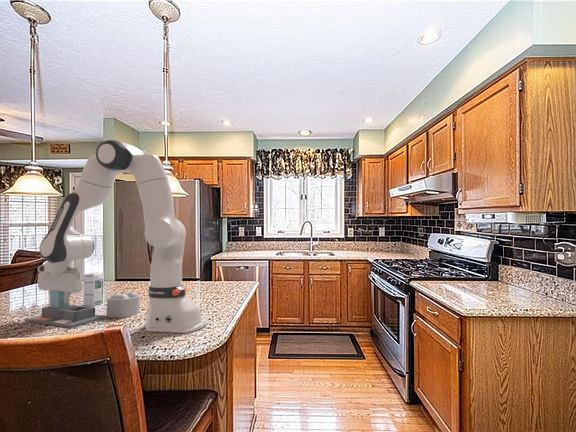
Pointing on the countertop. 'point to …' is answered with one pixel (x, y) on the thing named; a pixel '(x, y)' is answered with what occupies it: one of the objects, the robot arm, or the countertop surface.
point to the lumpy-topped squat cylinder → (123, 305)
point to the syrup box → (93, 289)
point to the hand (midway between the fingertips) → (59, 302)
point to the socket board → (66, 316)
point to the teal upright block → (57, 300)
